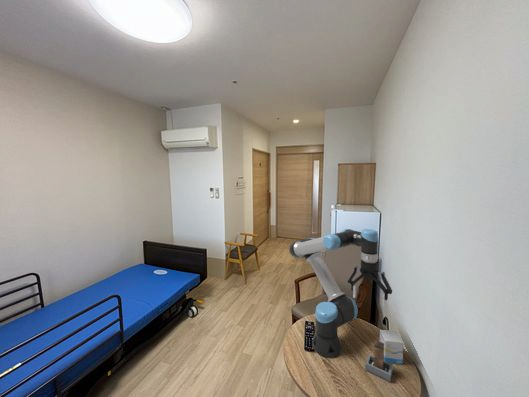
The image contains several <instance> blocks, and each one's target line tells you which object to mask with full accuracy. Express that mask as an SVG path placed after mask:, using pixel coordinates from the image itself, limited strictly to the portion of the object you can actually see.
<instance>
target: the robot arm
mask: <svg viewBox="0 0 529 397" xmlns="http://www.w3.org/2000/svg"><path fill="white" fill-rule="evenodd" d="M348 246H349V247H350V246H356V247H360V259H361V260H360V267H358V266H357V265H356V266H355V267H354V268H353V272H352V274H351V275H350V277H349V278H348V280H347V283H348V284H350V285H351V286H350V287H351V288H350V290H351V291H352V292H353V294H352V297H350V296H347V294H346V292H343V291H341V289H340V287H339V285H338V284H337V282H336V280H335V279H334V276H333V275H332V272H331V271H330V269H329V268H328V266H327V265H326V263H325V261H324V259H323V257H322V255H323V253H322V252H326V251H333V250H337V249H338V250H339V249H342V248H345V247H348ZM378 247H379V234H378V231H377V230H375V229H372V228H371V229H370V228H364V229H362V230H360V231H357V230H354V229H349V228H343V229H342V230H341V231H340V232H337V233H330V234H327V235H324V236H321V237H317V238H314V237H308V238H304V239H300V240H295V241H293V242H291V243H290V245H289V248H288V250H289V254H290V256H291V257H292V258H295V259H305V260H306V262H308V263H309V264H310V266H311V267H312V270H313V271H314V273H315V275H316V278H317V279H318V280H319V282H320V285H321V286H322V288H323V290H324V292H325V294H326V296H327V298H328V300H327V301H321V302H319V303H318V304H317V305H316V307H315V313H314V316H315V317H314V318H315V319H314V320H315V333H314V334H313V338H312V348H313V347H314V348H313V350H314V351H315V352H316V353H317V354H318V355H319V356H321V357H324V358H327V359H329V358H331V359H332V358H336V357H338V356H339V355H340V354H341V351H342V346H341V344H342V343H341V341H340V339H339V336H338V328H340V327H341V326H343V325H345V324H347V323H349V322H352V321H353V320H355V319H356V318H357V317H358V312H359V309H358V306H357V303H356V301H355V300H354V299H355V298H356V296H357V283H358V282H359V281H360V280H362V279H363V278H364V279H367V280H371V281H372V280H373V281H374V283H376V284H377V286H378V287H379V289H380V290H382V307H383V308H384V307H386V301H388V298H389V295H392V293H393V289H392V287H391V286H390V283H389V281H388V279H387V277H386V273H385V272H384V271H382V272H380V271H379V270H378V263H379V262H378V260H379V259H378V258H379V254H378V253H379V252H378V250H379V248H378ZM358 272H360V273H361V274H360V275H358V276H357V277H356V278H355V279H354V280H353V278H354V277H355V275H356V274H357V273H358ZM378 276H379V277H380V278H381V280H382V281H381V280H380V279H379V277H378ZM353 298H354V299H353Z"/></svg>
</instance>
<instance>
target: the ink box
mask: <svg viewBox="0 0 529 397" xmlns="http://www.w3.org/2000/svg"><path fill="white" fill-rule="evenodd" d="M379 342H382V343H384V361H386V362H389V363H391V364H397V365H403V363H404V341H403V339H402V338H401V336H400V335H399V333H398V332H397V330H387V329H380V330H379Z"/></svg>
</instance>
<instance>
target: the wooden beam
mask: <svg viewBox="0 0 529 397" xmlns="http://www.w3.org/2000/svg"><path fill="white" fill-rule="evenodd" d="M373 347H374V350H373V352H374V354H373V356H374V366H375V367H377V368H379V369H382V370H383V369H384V343H382V342H380V340H375V342H374V346H373Z"/></svg>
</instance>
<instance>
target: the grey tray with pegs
mask: <svg viewBox="0 0 529 397" xmlns="http://www.w3.org/2000/svg"><path fill="white" fill-rule="evenodd" d="M393 364H394V363H389V362H386V361H384V369H383V370H382V369H379V368H377V367H375V366H374V354H373V355H372V354H370V353H368V355H367V358H366V362H365V364H364V365H365V366H364V367H365V368H364V369H365V371H366V372H367V373H370V374H372V375H374V376H376V377H377V378H380V379H382V380H383V381H386V382H388V383H392V382H391V381H392V375H393Z"/></svg>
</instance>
